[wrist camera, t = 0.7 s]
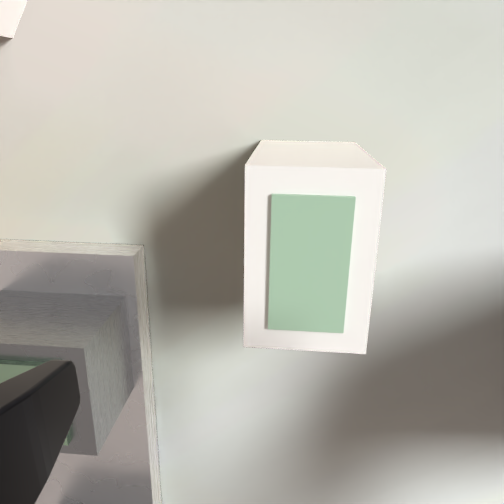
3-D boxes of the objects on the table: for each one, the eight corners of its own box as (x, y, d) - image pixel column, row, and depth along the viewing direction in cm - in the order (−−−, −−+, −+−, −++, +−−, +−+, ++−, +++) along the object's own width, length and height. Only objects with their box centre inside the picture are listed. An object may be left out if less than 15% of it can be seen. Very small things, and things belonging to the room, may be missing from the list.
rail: (143, 245, 22) (87, 303, 16) (166, 572, 29) (134, 694, 23) (3, 239, 22) (-102, 293, 16) (60, 561, 30) (2, 679, 24)
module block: (355, 141, 19) (387, 169, 13) (343, 272, 21) (366, 356, 15) (261, 139, 20) (244, 166, 13) (258, 269, 22) (242, 349, 15)
